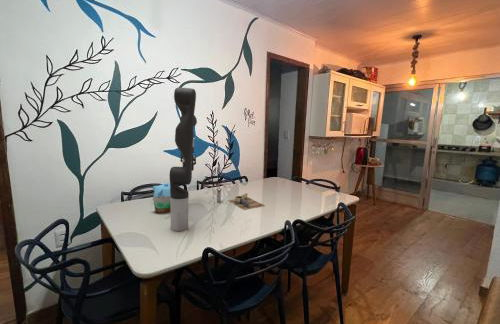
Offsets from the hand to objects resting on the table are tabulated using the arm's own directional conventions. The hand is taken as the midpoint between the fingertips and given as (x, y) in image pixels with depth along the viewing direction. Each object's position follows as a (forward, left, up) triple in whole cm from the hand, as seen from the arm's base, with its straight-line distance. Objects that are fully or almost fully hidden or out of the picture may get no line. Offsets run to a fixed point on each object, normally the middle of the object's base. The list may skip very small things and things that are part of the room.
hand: (187, 169), depth 166 cm
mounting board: (-22, -34, -24) cm, 47 cm away
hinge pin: (-11, -18, -24) cm, 32 cm away
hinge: (-22, -34, -23) cm, 46 cm away
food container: (-7, +20, -24) cm, 32 cm away
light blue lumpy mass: (+12, +10, -24) cm, 29 cm away
